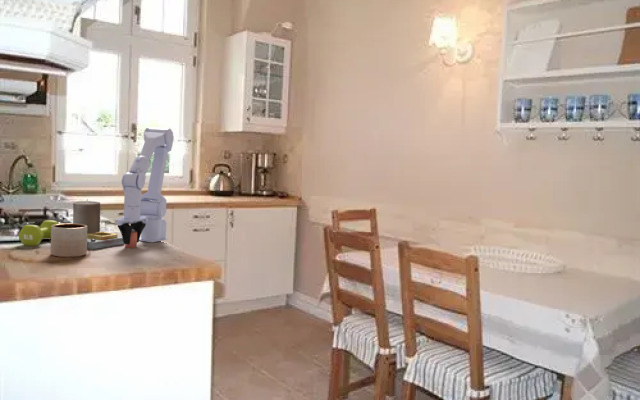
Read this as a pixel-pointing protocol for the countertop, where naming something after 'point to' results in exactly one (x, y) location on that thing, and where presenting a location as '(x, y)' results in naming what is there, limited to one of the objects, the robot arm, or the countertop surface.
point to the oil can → (132, 240)
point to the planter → (68, 240)
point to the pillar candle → (87, 215)
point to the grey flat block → (103, 240)
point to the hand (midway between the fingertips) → (131, 243)
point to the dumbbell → (36, 233)
